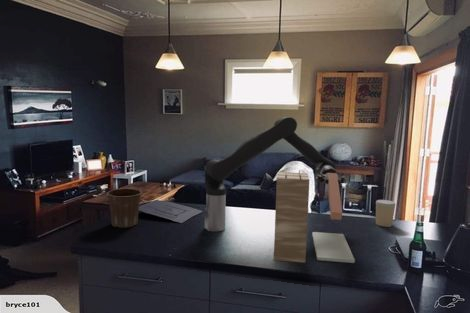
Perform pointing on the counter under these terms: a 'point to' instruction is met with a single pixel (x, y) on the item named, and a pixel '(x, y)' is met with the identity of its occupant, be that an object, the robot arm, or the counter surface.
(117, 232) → the counter surface
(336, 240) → the board
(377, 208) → the coffee cup
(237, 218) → the counter surface
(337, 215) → the bar
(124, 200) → the plant pot
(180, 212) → the papers
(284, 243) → the stand
